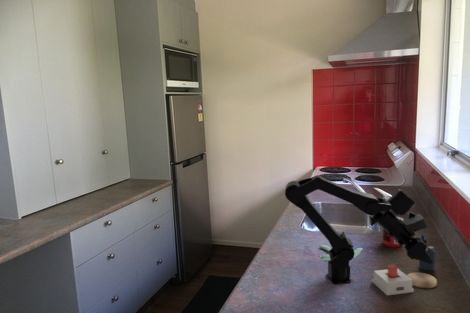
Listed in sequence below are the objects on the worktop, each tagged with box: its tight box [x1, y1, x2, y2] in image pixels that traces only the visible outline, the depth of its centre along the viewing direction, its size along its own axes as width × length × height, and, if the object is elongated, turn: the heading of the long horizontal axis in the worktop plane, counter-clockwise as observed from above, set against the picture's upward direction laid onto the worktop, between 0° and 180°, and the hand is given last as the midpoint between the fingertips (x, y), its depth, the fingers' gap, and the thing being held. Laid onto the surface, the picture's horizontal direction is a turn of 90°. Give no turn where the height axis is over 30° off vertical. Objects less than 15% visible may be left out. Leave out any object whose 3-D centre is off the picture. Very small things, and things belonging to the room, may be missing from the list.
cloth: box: [319, 244, 363, 262], centre depth 150 cm, size 20×22×2 cm
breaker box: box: [371, 267, 415, 296], centre depth 120 cm, size 9×9×4 cm
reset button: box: [387, 264, 398, 278], centre depth 120 cm, size 3×3×4 cm
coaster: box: [406, 271, 438, 289], centre depth 123 cm, size 9×9×1 cm
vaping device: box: [418, 234, 436, 271], centre depth 131 cm, size 3×5×12 cm, turn 56°
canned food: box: [382, 216, 404, 248], centre depth 154 cm, size 8×8×11 cm
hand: (426, 257), depth 122 cm, fingers open, 9 cm apart
